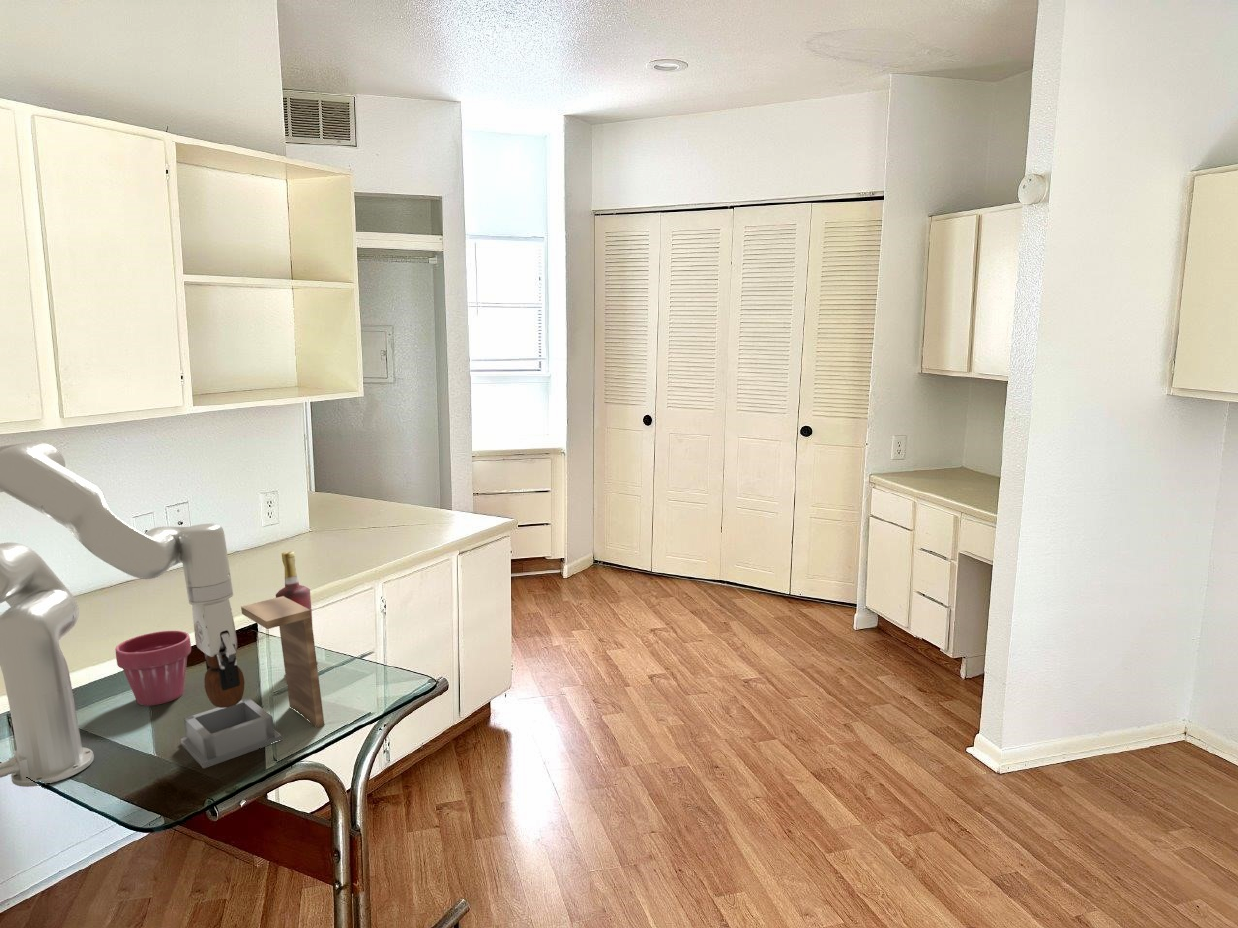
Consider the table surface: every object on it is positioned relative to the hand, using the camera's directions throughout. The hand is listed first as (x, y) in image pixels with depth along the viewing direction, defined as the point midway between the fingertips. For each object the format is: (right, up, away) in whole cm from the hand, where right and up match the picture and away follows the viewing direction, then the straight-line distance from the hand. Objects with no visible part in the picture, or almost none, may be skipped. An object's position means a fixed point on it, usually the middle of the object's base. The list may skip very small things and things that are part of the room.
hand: (224, 681), depth 160 cm
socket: (+1, -12, +2) cm, 12 cm away
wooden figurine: (0, -5, +1) cm, 5 cm away
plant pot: (-26, -10, +26) cm, 38 cm away
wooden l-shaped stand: (+9, -10, +10) cm, 17 cm away
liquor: (+2, -7, +35) cm, 36 cm away
